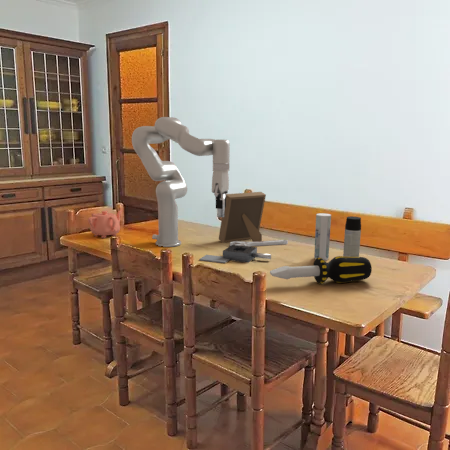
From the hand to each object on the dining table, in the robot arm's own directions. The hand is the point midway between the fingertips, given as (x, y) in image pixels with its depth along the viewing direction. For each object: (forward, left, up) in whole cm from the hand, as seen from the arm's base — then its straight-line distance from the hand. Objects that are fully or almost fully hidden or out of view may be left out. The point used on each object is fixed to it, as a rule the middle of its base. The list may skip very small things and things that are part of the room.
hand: (220, 207), depth 213 cm
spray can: (+58, +6, -22) cm, 62 cm away
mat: (+2, -12, -21) cm, 24 cm away
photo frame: (+3, +25, -22) cm, 33 cm away
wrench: (+15, +19, -20) cm, 32 cm away
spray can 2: (+45, +8, -22) cm, 51 cm away
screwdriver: (+51, -27, -22) cm, 62 cm away
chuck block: (+15, -5, -21) cm, 27 cm away
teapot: (-70, +10, -22) cm, 74 cm away
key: (0, 0, -4) cm, 4 cm away
